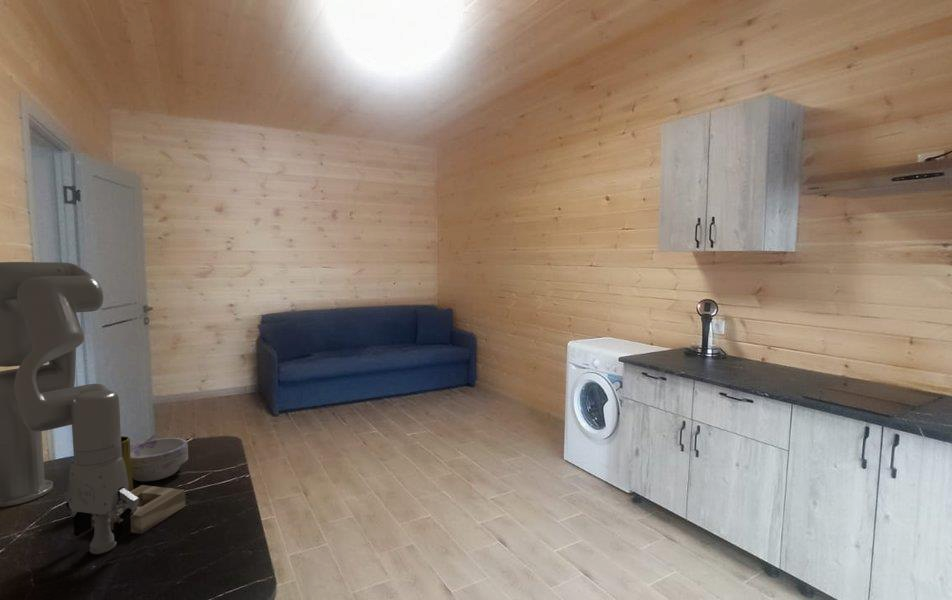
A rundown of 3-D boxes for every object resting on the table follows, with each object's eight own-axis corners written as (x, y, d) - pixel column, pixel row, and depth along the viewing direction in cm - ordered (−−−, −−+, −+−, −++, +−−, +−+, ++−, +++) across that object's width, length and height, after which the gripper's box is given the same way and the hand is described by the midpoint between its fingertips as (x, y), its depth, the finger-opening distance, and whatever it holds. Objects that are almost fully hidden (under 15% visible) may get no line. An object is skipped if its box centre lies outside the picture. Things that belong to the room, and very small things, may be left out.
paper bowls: (149, 462, 139) (148, 435, 138) (200, 463, 138) (199, 437, 138) (107, 486, 124) (105, 457, 123) (164, 488, 123) (162, 458, 123)
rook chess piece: (84, 556, 95) (82, 518, 94) (96, 544, 99) (93, 506, 98) (111, 553, 96) (109, 515, 95) (121, 540, 100) (119, 504, 99)
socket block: (95, 527, 105) (94, 509, 105) (142, 500, 117) (142, 485, 116) (141, 533, 103) (140, 516, 102) (185, 506, 114) (184, 489, 114)
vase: (117, 502, 116) (115, 445, 114) (97, 500, 117) (94, 443, 116) (140, 491, 121) (137, 436, 120) (120, 488, 123) (117, 434, 122)
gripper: (43, 457, 94) (48, 540, 95) (117, 465, 90) (121, 551, 92) (81, 443, 101) (85, 520, 102) (151, 449, 98) (154, 529, 99)
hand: (102, 535), depth 97 cm, fingers open, 9 cm apart
